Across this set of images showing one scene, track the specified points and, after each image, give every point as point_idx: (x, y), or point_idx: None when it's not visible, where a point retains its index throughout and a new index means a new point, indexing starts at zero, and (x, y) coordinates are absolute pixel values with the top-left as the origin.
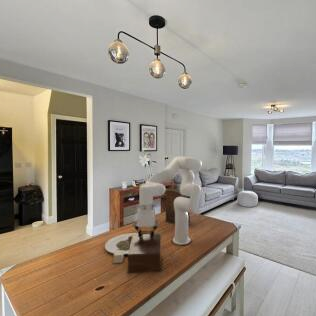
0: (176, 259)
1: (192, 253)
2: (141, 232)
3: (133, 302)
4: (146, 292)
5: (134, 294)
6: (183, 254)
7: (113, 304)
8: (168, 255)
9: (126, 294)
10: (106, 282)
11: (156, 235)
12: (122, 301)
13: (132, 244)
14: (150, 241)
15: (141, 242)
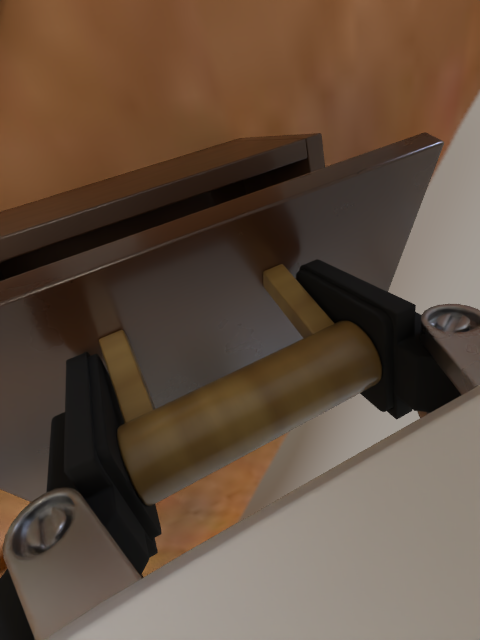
0: (362, 147)
1: (474, 17)
2: (168, 494)
3: (231, 520)
4: (260, 465)
5: (215, 496)
6: (411, 46)
7: (159, 564)
8: (297, 86)
9: (181, 513)
10: (3, 524)
11: (361, 216)
12: (186, 539)
13: (35, 473)
14: (273, 336)
15: (154, 401)
